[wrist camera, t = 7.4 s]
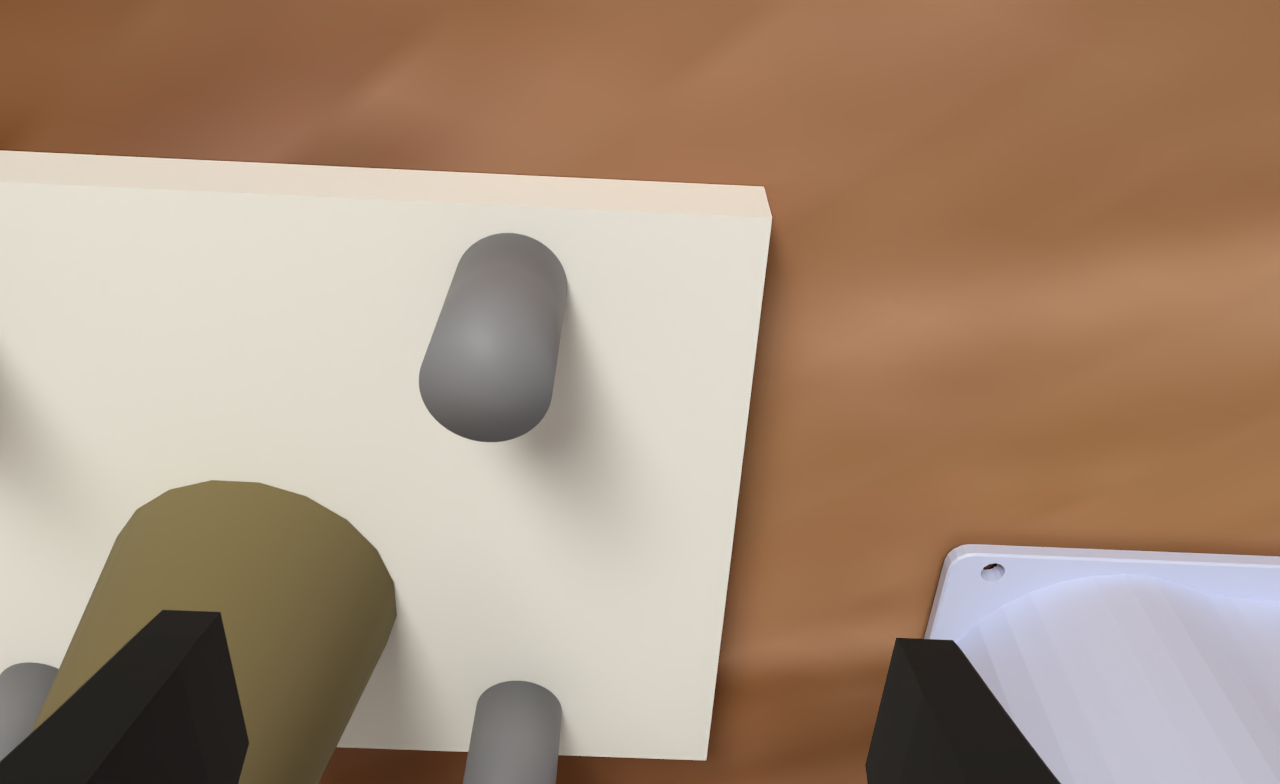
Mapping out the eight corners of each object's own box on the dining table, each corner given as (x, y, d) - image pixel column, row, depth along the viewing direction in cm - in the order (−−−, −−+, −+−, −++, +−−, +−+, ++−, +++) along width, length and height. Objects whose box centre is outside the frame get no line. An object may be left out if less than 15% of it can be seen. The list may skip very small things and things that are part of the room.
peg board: (763, 186, 19) (797, 311, 15) (703, 711, 27) (714, 895, 22) (-344, 134, 19) (-633, 246, 15) (-95, 682, 26) (-239, 864, 22)
